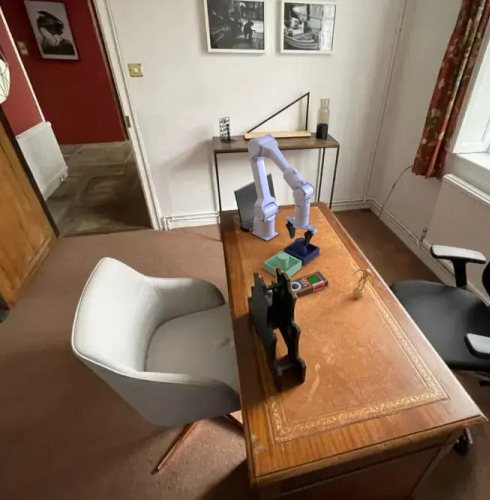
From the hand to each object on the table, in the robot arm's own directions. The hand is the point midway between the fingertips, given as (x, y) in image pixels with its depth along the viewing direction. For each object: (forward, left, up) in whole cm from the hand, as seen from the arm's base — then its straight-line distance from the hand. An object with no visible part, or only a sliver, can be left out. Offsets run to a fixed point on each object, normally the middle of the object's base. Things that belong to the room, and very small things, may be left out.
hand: (299, 241), depth 133 cm
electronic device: (+16, -16, -5) cm, 23 cm away
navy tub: (+2, -1, -5) cm, 6 cm away
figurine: (+33, -7, -5) cm, 34 cm away
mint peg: (+3, -14, -5) cm, 15 cm away
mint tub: (+2, -14, -5) cm, 15 cm away
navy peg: (+2, -1, -4) cm, 5 cm away
